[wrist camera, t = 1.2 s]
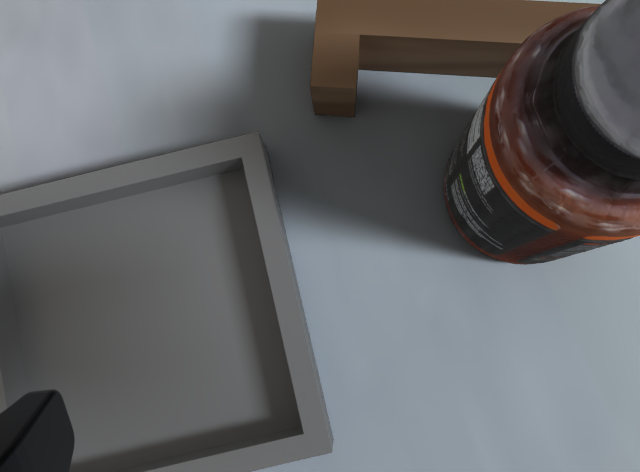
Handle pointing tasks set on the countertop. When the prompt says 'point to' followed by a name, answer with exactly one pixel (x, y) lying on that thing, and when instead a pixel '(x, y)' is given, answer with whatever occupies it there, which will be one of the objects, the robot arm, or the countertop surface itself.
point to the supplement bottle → (555, 143)
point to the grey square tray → (162, 314)
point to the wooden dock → (417, 40)
